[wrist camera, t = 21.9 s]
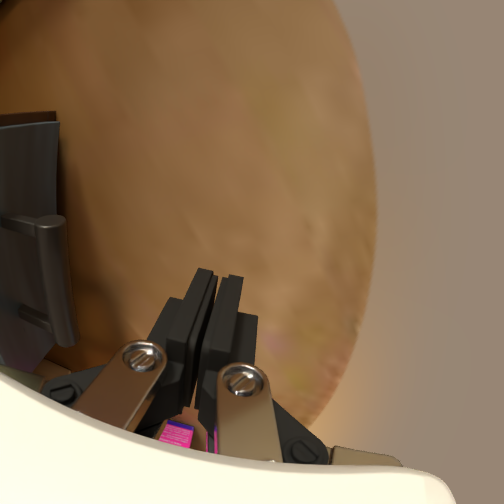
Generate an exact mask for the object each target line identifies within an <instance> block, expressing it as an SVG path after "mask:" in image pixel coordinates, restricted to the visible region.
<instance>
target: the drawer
mask: <svg viewBox="0 0 504 504" xmlns="http://www.w3.org/2000/svg"><path fill="white" fill-rule="evenodd" d="M59 127H60V122H37V123H27V124H19V125H11V126H4V127H0V364H3V365H6V366H10V367H13V368H16V369H20V370H23V371H27V372H31V373H32V372H33V371H34V369H35V368H36V367H37V366H38V364H39V363H40V362H41V360H42V359H43V358H44V357H45V355H46V354H47V353H48V352H49V351H50V349H51V348H52V347H53V346H54V345H55V343H57V344H58V345H59V346H62V347H71V346H73V345H75V344H76V343H77V342H78V341H79V339H80V334H79V328H78V323H77V318H76V312H75V305H74V299H73V292H72V284H71V276H70V266H69V255H68V242H67V221H66V218H65V217H63V216H60V215H57V212H56V172H57V151H58V138H59Z"/></svg>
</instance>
